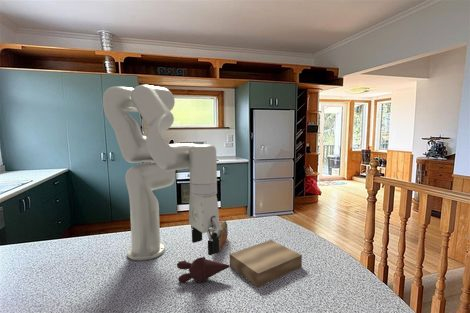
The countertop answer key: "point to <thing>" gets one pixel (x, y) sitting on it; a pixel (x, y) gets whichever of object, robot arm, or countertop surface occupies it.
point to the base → (265, 262)
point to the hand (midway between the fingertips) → (205, 247)
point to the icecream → (200, 269)
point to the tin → (222, 235)
